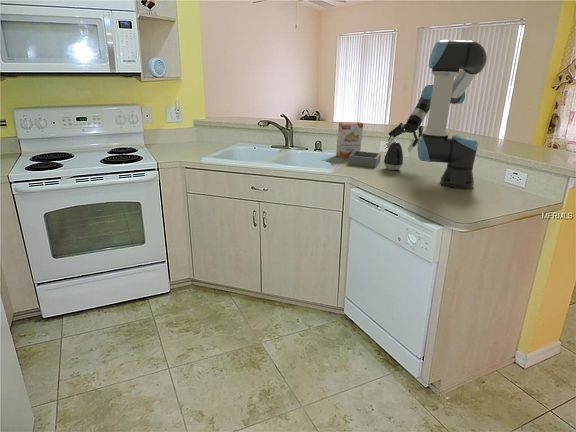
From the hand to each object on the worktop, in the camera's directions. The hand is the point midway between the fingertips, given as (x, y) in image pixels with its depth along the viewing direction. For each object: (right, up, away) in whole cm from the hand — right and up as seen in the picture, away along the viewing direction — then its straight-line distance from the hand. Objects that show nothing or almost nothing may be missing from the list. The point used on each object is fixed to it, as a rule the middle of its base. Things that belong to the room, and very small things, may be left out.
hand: (397, 148), depth 216 cm
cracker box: (-23, 0, +28) cm, 37 cm away
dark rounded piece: (-3, -12, +1) cm, 12 cm away
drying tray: (-16, -6, +12) cm, 21 cm away
